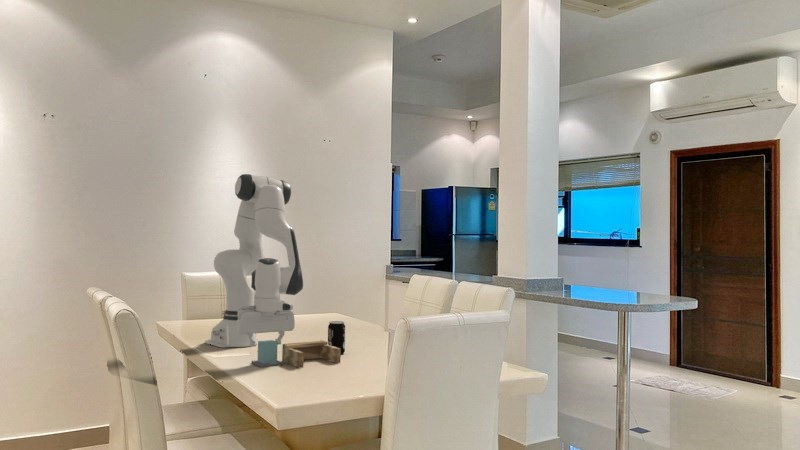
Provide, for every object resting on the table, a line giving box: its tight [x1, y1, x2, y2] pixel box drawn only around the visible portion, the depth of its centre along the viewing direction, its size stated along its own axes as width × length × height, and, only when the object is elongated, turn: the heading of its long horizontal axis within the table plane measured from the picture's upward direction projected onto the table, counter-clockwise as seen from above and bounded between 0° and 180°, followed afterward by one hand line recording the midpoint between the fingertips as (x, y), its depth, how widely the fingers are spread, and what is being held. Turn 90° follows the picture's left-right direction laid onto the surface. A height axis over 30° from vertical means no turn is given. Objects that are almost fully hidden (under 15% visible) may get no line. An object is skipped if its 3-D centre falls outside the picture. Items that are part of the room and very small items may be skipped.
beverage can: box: [327, 320, 346, 355], centre depth 225 cm, size 7×7×12 cm
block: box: [257, 339, 278, 364], centre depth 203 cm, size 5×5×7 cm
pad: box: [251, 359, 284, 368], centre depth 203 cm, size 8×8×1 cm
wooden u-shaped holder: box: [281, 339, 342, 369], centre depth 208 cm, size 14×16×6 cm
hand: (265, 345), depth 203 cm, fingers open, 8 cm apart
